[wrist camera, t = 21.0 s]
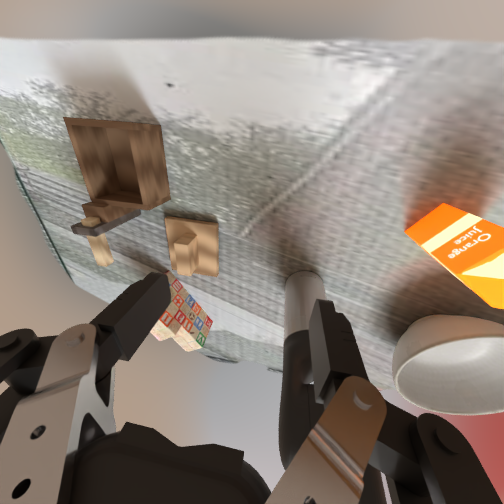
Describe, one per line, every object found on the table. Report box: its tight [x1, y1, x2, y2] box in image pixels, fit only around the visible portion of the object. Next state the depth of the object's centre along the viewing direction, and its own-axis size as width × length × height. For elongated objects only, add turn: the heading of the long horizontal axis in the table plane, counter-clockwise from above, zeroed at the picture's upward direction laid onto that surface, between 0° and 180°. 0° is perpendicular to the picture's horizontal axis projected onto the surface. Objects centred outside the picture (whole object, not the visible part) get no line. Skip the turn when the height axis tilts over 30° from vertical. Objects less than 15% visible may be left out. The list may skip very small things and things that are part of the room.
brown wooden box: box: [63, 117, 171, 237], centre depth 37 cm, size 18×13×13 cm
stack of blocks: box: [150, 271, 213, 352], centre depth 55 cm, size 21×6×12 cm, turn 31°
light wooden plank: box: [81, 217, 114, 267], centre depth 40 cm, size 10×2×2 cm, turn 176°
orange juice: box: [405, 203, 504, 309], centre depth 30 cm, size 8×9×20 cm
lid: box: [165, 216, 219, 277], centre depth 46 cm, size 14×12×8 cm
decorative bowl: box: [392, 314, 504, 415], centre depth 45 cm, size 27×27×12 cm
